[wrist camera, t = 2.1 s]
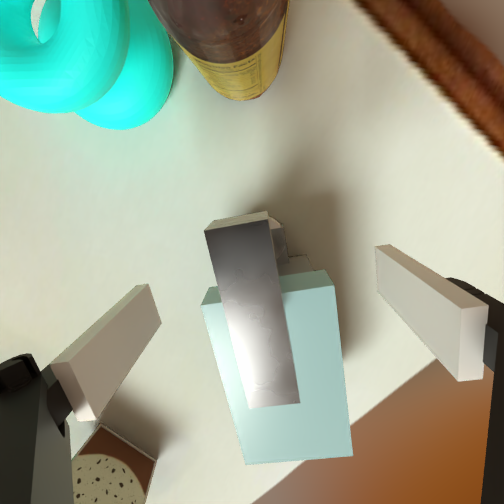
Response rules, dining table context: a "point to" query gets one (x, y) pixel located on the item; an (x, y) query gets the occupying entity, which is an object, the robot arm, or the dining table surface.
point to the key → (254, 307)
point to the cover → (307, 371)
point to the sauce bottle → (229, 40)
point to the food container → (111, 470)
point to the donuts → (86, 60)
